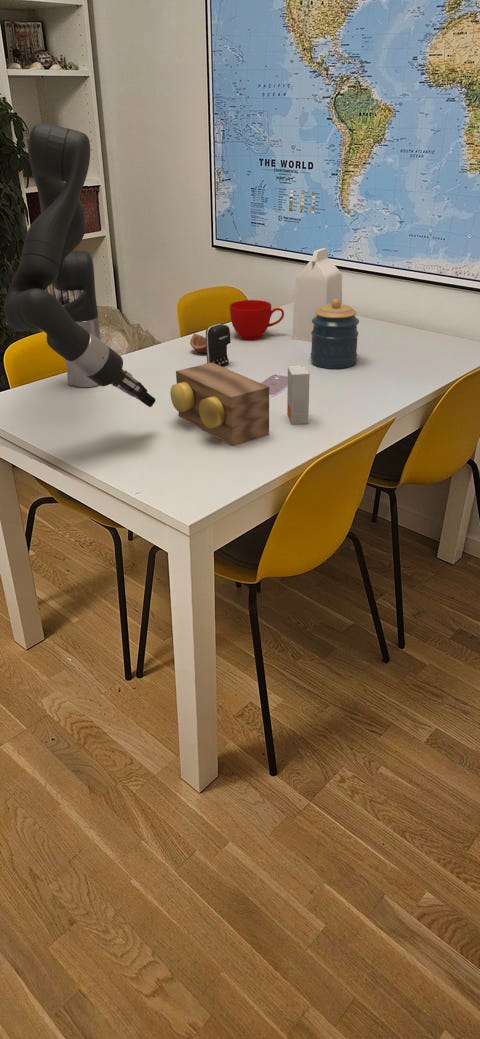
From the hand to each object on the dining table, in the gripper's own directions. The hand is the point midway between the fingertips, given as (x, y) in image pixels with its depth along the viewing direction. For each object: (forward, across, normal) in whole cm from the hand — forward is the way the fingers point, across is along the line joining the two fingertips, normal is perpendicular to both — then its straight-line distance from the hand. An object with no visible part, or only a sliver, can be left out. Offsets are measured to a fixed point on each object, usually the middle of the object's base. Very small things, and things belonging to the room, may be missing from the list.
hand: (151, 402), depth 157 cm
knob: (+13, 0, -7) cm, 15 cm away
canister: (+52, +12, -41) cm, 67 cm away
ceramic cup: (+51, +47, -41) cm, 80 cm away
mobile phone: (+34, +7, -23) cm, 42 cm away
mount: (+14, -6, -4) cm, 16 cm away
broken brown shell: (+35, +44, -25) cm, 61 cm away
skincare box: (+26, -14, -16) cm, 34 cm away
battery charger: (+32, +30, -22) cm, 49 cm away
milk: (+61, +34, -51) cm, 87 cm away
